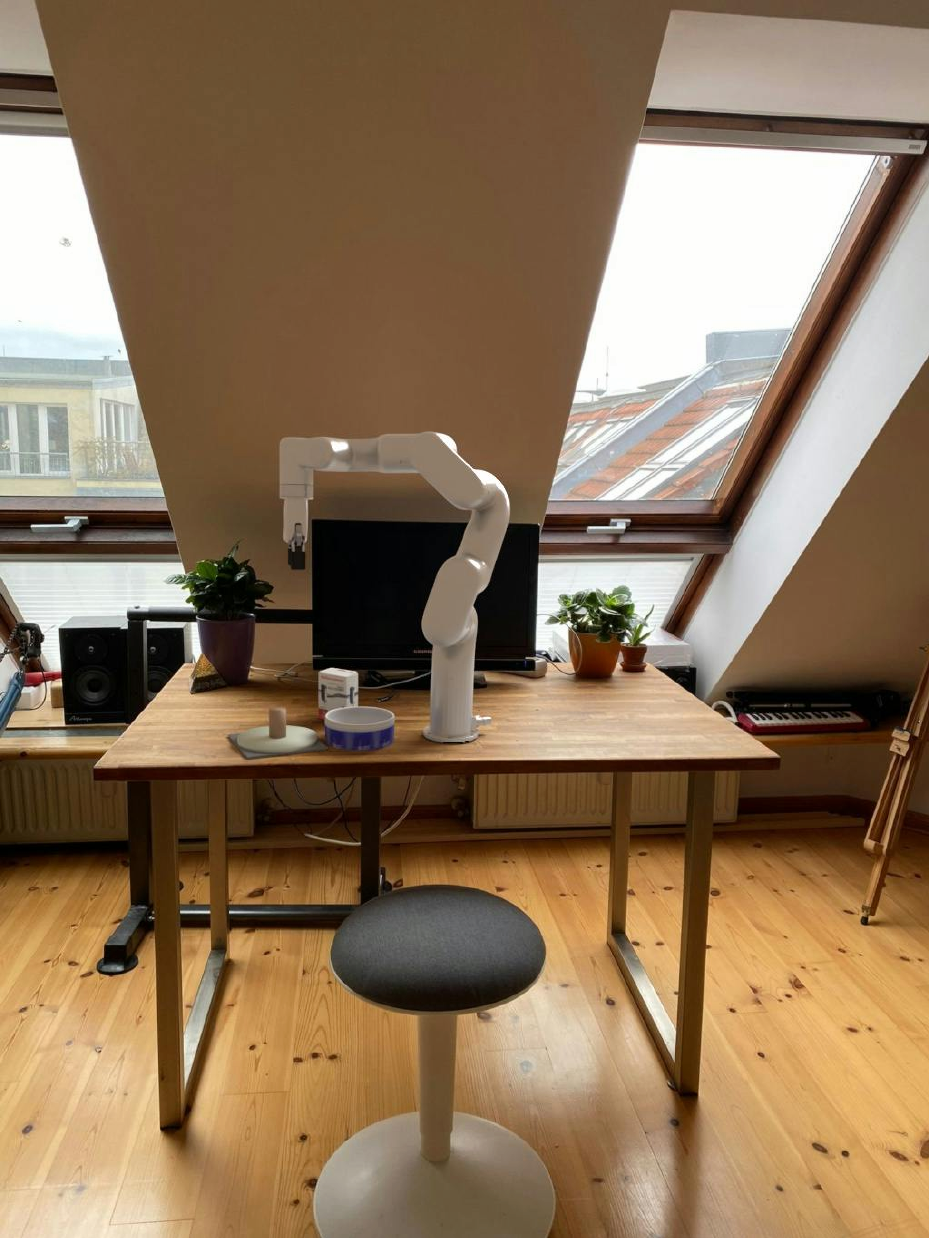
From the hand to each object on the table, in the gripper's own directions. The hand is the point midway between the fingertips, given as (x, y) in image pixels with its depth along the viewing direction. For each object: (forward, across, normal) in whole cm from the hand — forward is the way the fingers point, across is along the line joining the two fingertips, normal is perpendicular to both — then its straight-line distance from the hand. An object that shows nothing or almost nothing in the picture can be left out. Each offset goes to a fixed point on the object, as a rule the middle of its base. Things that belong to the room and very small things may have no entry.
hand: (296, 567), depth 200 cm
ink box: (+37, +2, +10) cm, 38 cm away
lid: (+36, +18, -5) cm, 41 cm away
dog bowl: (+37, +19, +12) cm, 43 cm away
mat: (+36, +18, -6) cm, 41 cm away
